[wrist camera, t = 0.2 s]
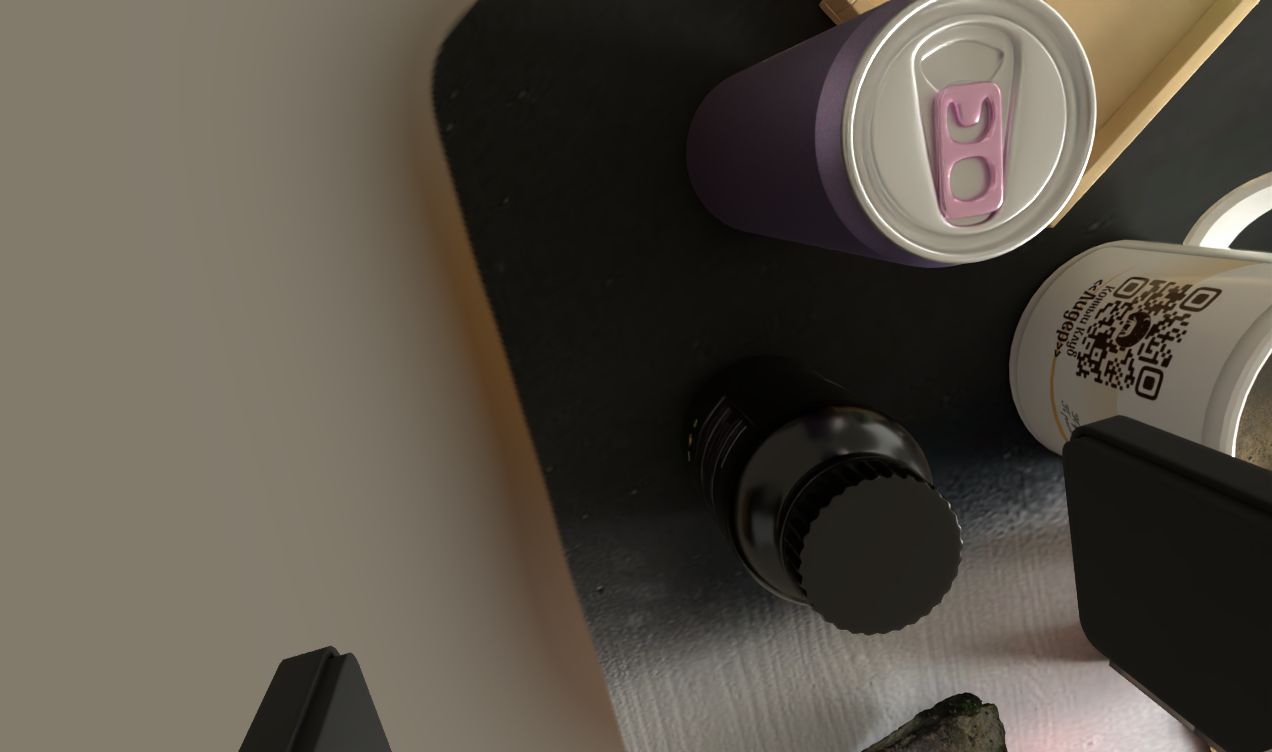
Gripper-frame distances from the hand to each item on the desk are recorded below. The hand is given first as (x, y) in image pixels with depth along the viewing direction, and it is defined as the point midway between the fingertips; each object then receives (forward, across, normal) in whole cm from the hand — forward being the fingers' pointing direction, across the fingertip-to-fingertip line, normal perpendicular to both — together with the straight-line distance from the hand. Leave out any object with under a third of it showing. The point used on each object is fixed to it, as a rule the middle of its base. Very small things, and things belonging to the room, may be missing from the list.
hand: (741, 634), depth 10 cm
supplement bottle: (+22, -6, +6) cm, 24 cm away
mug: (+22, -23, +6) cm, 33 cm away
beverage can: (+22, -8, -5) cm, 24 cm away
